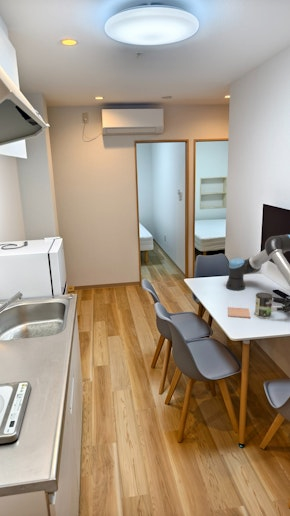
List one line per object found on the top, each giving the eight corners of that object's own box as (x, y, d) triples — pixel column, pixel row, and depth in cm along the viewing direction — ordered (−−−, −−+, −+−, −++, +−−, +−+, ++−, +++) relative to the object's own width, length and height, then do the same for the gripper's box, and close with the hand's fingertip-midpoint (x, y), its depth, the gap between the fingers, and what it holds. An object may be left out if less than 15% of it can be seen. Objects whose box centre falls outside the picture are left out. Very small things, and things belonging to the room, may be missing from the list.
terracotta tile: (227, 308, 240) (227, 307, 239) (248, 309, 237) (248, 308, 236) (228, 316, 226) (228, 315, 226) (250, 318, 223) (250, 316, 223)
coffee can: (274, 315, 227) (275, 295, 224) (264, 319, 221) (266, 299, 218) (260, 310, 235) (262, 291, 232) (251, 314, 229) (252, 294, 226)
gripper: (308, 316, 215) (274, 317, 215) (290, 301, 239) (260, 302, 239) (309, 305, 213) (275, 306, 213) (291, 291, 237) (261, 292, 237)
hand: (267, 304), depth 226 cm, fingers open, 13 cm apart
